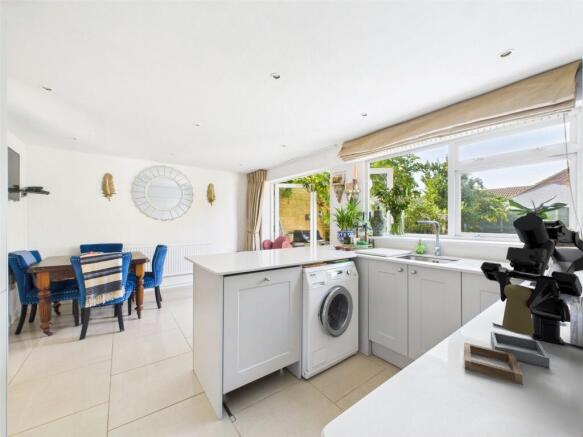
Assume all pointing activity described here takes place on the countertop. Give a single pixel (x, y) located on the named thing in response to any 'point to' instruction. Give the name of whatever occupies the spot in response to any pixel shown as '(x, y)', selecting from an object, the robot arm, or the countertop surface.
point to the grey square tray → (521, 349)
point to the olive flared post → (517, 310)
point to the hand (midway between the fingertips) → (514, 303)
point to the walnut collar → (489, 369)
